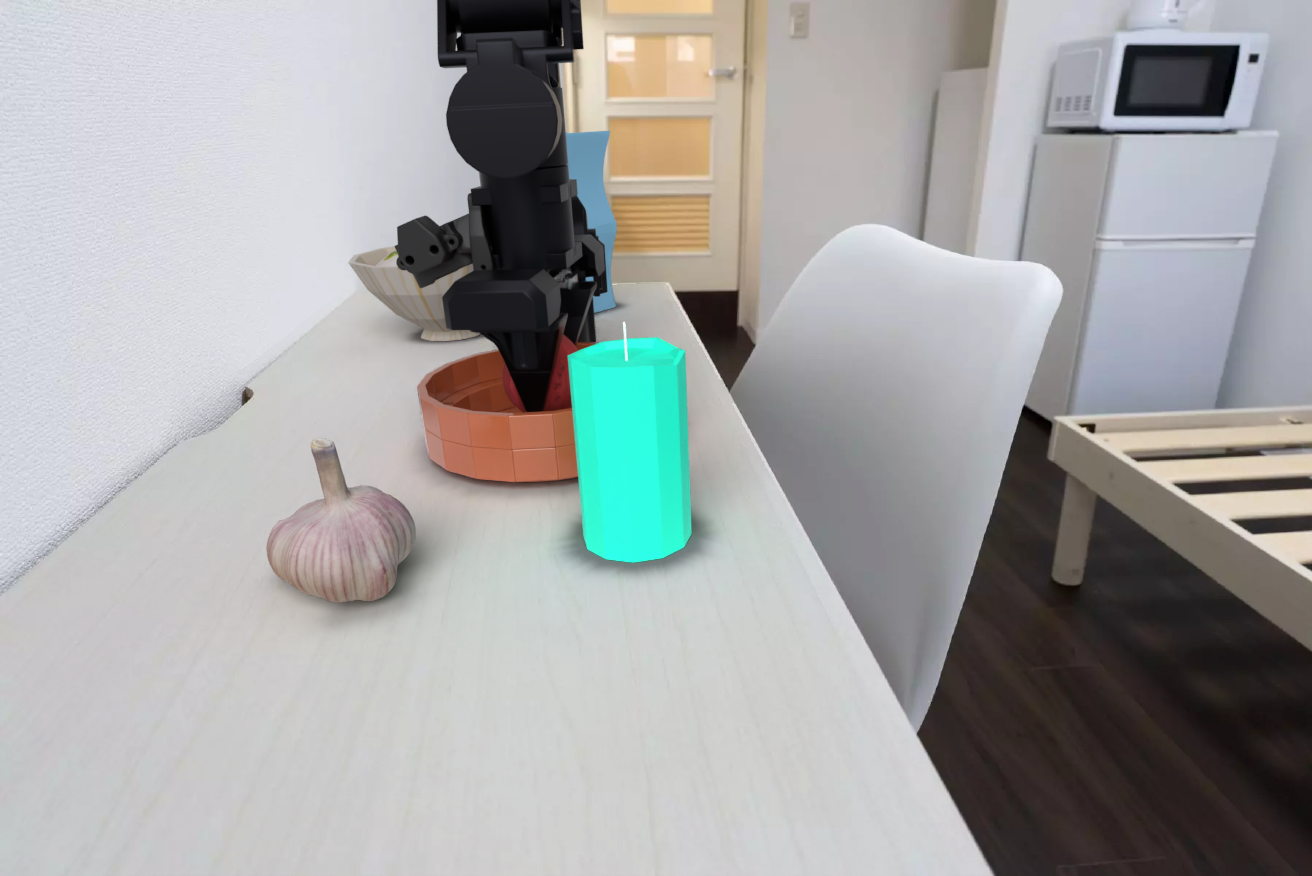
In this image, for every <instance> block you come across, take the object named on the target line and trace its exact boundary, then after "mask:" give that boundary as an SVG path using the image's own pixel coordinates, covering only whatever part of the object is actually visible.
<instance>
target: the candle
mask: <svg viewBox="0 0 1312 876" xmlns="http://www.w3.org/2000/svg"><path fill="white" fill-rule="evenodd" d="M622 331H623V338H621V339H612V340H606V341H600V342H597V344H595V345H592V346H589V347H587V348H584V349H582V350H579V351H577V352H574V353H572V354H570V355H567V356H568V367H569V379H570V390H571V401H572V413H573V424H574V435H575V447H576V458H577V470H578V477H577V478H578V479H577V481H578V491H579V503H580V513H581V524H582V535H583V536H582V537H583V539H584V543H585V547H586V549H587V550H588V551H589V552H591V553H593V554H595V555H597V556H598V557H600V558H602V559H604V560H607V561H615V562H616V561H617V562H625V563H641V562H646V561H654V560H660V559H664V558H666V557H668V556H670V555H673V554H674V553H676V552H678V551H681V550H682V549H684V548H685V547H686V545H687V543H688V541H689V540H690V538H691V536H692V533H693V531H692V530H693V529H692V504H691V502H692V501H691V476H690V475H691V474H690V473H691V472H690V444H689V417H688V416H689V414H688V389H687V387H688V386H687V385H688V384H687V359H686V357H687V356H686V350H685V349H683V348H680V347H677V346H675V345H674V344H672V343H670V342H668V341H666V340H664V339H662V338H660V337H659V336H654V337H652V336H651V337H628V338H627V335H628V334H627V322H626V321H622Z"/></svg>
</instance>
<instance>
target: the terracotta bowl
mask: <svg viewBox="0 0 1312 876" xmlns="http://www.w3.org/2000/svg"><path fill="white" fill-rule="evenodd" d="M597 343H598V342H597V341H596V342H577V345H576V347H577V349H578V350H582V349H584V348H587V347H589V346H592V345H595V344H597ZM503 366H504V360H503V358H502V356H501V354H500V352H499V350H498V348H496V349H491V350H487V351H483V352H478V353H474V354H473V353H472V354H469V355H467V356H464V357H462V358H458V359H455V360H453V361H449V362H446V363H444V364H442V365H441V366H439V367H437V368H435V369H433V370H431V371H429V372H428V373H427V374H425V375H424V376H423V378H422V379H421V380H420V382H419V383H418V384H417V385H416V391H417V398H418V403H419V410H420V416H421V423H422V429H423V436H424V442H425V447H426V451H427V454H428V458H429V459H430V460H431V461H433V462H434V463H435V464H436V465H438V466H439V467H441V468H443V469H444V470H446V471H447V472H450V473H455V474H458V475H462V476H465V477H467V478H472V479H476V480H485V481H497V482H510V483H541V482H542V483H543V482H556V481H562V480H563V481H565V480H570V479H576V478H578V470H577V458H576V447H575V435H574V424H573V413H572V407H571V408H569V409H562V410H556V411H544V412H525V413H523V412H522V411H520V410H519V409H518V408H517V407H516V406H515V405H513V404H512V402H511V401H510V399H509V398H508V396H507V395H506V392H505V389H504V385H503Z"/></svg>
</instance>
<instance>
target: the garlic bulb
mask: <svg viewBox="0 0 1312 876" xmlns="http://www.w3.org/2000/svg"><path fill="white" fill-rule="evenodd" d="M310 450H311V454H312V456H313V459H314V463H315V467H316V471H317V474H318V477H319V483H320V486H321V491H322V494H323V498H319V499H315V500H314V501H312V502H309V503H306V504H303V505H302V506H301V507H299V508H298V509H296V510H295V512H294V513H293V514H291V515H290V516H289V517H287V518H284V519H281V520H278V521H277V523H275V524H274V526H273V528H272V529H271V531H270V532H269V536H268V539H267V542H266V556H267V561H268V564H269V565H270V568H271V570H272V572H274V574H275V575H276V576H277V577H278V578H279V579H281V580H282V581H284V582H286V583H287V584H290V585H291V586H293V587H294V588H295V589H296V590H298V591H299V592H301V593H303V594H305V595H308V596H312V597H319V598H323V599H324V600H325V601H327V602H331V603H345V602H352V603H353V602H355V601H362V602H363V601H364V602H374V601H377V600H380V599H382V598H383V597H385V596H387V595H388V594H389V593H390V592H391V591H392V589H393V588H394V587H395V585H396V582H397V577H398V567H399V565H400V564H401V563H402V562H403V561H404V560H405V559H406V558H407V557H408V555H409V554H410V553H411V551H412V549H413V547H414V545H415V543H416V542H415V541H416V533H417V532H416V525H415V521H414V518H413V517H412V514H411V513H410V511H409V510H408V508H407V507H406V505H405V504H403V503H402V501H400V500H399V499H397V498H396V497H394V496H393V495H391V494H389V493H386V492H384V491H382V490H381V489H379V488H377V487H375V486H371V485H366V484H365V485H364V484H363V485H358V486H353V487H348V485H347V482H346V478H345V475H344V472H343V469H342V466H341V465H342V464H341V462H340V461H341V460H340V457H339V454H338V451H337V446H336V444H335V442H334V441H333V440H330V439H327V438H314V439H312V442H310Z"/></svg>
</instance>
